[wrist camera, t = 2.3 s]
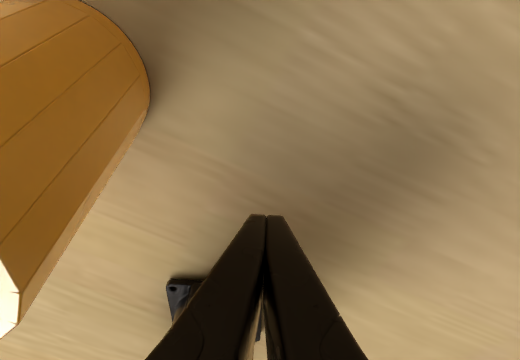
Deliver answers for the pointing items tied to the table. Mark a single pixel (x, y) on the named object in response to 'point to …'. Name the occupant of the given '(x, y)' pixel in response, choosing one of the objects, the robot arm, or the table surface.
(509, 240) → the table surface
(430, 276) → the table surface
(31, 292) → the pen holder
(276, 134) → the table surface
